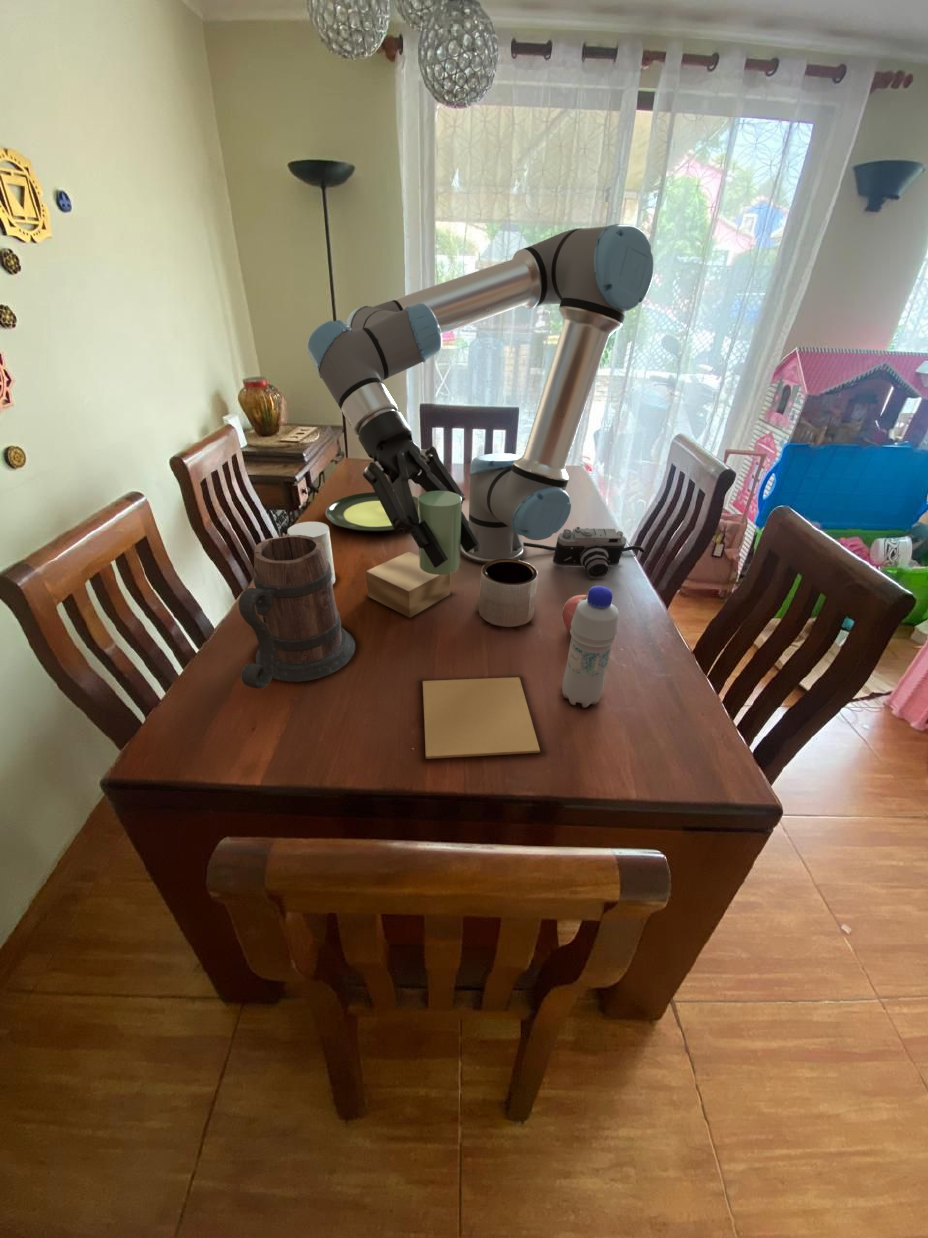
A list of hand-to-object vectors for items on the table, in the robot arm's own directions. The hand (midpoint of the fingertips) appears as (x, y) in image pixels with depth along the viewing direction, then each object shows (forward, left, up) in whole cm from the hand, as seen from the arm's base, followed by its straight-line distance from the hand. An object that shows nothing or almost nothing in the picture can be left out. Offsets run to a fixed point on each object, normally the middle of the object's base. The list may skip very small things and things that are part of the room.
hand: (457, 555), depth 78 cm
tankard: (+27, -2, -21) cm, 34 cm away
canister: (+3, -3, -3) cm, 5 cm away
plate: (+16, -65, -21) cm, 70 cm away
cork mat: (-2, +13, -21) cm, 24 cm away
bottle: (-19, +10, -21) cm, 30 cm away
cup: (+28, -30, -21) cm, 46 cm away
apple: (-24, -8, -21) cm, 33 cm away
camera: (-33, -32, -21) cm, 51 cm away
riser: (+8, -23, -21) cm, 32 cm away
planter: (-11, -15, -21) cm, 28 cm away
